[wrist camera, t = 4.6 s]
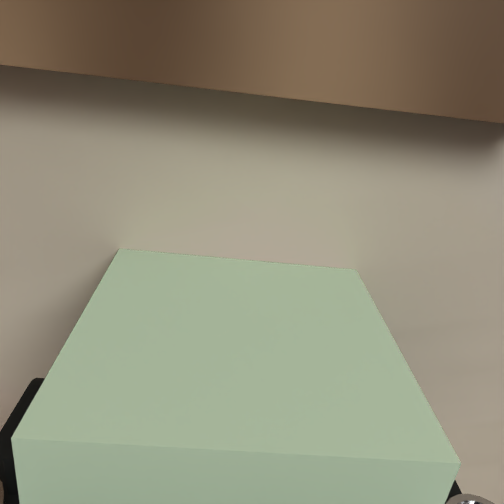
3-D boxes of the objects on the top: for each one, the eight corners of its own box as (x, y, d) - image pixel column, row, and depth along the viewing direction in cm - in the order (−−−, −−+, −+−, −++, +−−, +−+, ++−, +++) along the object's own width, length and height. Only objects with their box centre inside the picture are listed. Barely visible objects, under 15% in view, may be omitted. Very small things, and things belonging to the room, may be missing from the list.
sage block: (356, 269, 12) (461, 463, 6) (316, 442, 14) (367, 690, 9) (119, 248, 11) (10, 438, 6) (119, 430, 14) (43, 685, 8)
